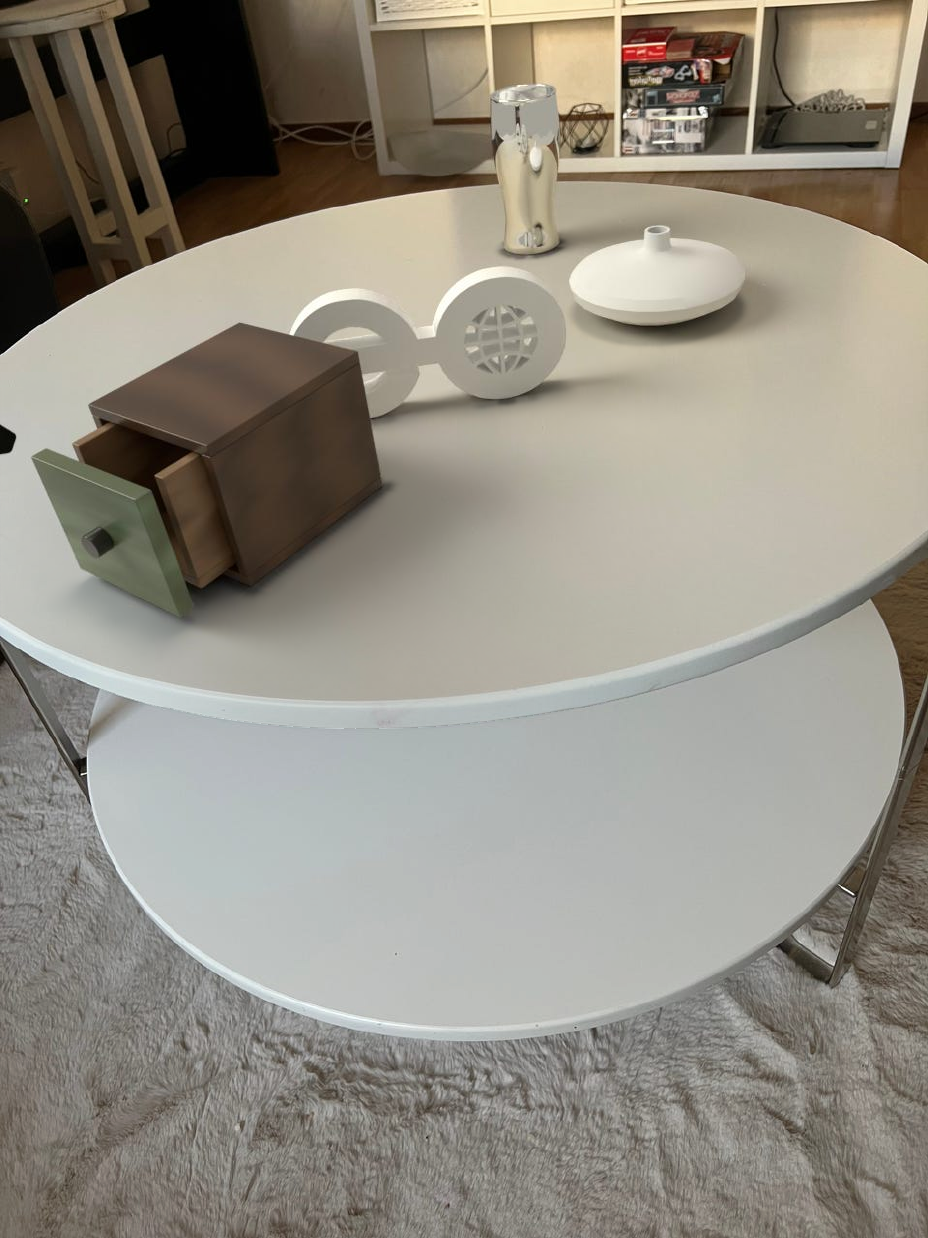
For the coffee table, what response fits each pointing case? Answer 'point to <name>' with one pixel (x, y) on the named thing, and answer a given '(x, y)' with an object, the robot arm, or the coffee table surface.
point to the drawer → (138, 514)
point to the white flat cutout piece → (448, 336)
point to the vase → (657, 279)
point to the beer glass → (527, 164)
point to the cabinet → (262, 434)
